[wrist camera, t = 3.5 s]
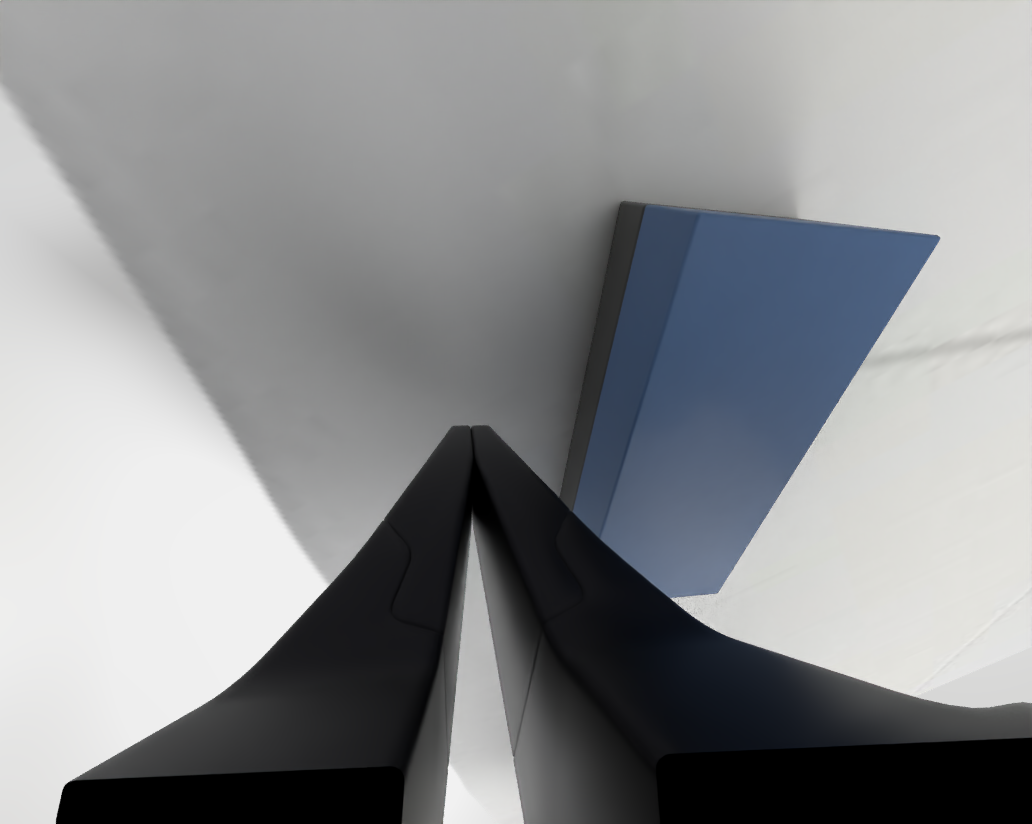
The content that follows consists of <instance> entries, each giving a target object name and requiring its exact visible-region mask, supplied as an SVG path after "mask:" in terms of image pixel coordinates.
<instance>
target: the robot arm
mask: <svg viewBox="0 0 1032 824" xmlns="http://www.w3.org/2000/svg"><path fill="white" fill-rule="evenodd" d="M472 520H473V528H474V534H475V540H476V546H477V551H478V557H479V563H480V569H481V574H482V580H483V586H484V592H485V598H486V603H487V609H488V615H489V621H490V627H491V632H492V638H493V644H494V650H495V655H496V661H497V667H498V673H499V679H500V684H501V690H502V696H503V702H504V707H505V713H506V719H507V725H508V731H509V736H510V742H511V748H512V754H513V756H514V766H515V772H516V777H517V783H518V789H519V795H520V800H521V806H522V812H523V818H524V824H1032V703H1024V702H1021V703H1012V704H1006V705H1002V706H995V707H990V708H968V707H960V706H953V705H947V704H942V703H937V702H933V701H929V700H924V699H919V698H916V697H913V696H910V695H906V694H903V693H899V692H896V691H893V690H890V689H886V688H883V687H880V686H877V685H874V684H871V683H868V682H865V681H862V680H859V679H856V678H853V677H849V676H846V675H843V674H840V673H837V672H834V671H831V670H828V669H825V668H822V667H819V666H816V665H812V664H809V663H806V662H803V661H800V660H797V659H794V658H791V657H788V656H785V655H782V654H779V653H776V652H772V651H769V650H766V649H763V648H760V647H757V646H754V645H751V644H748V643H745V642H742V641H739V640H736V639H733V638H730V637H728V636H725V635H723V634H721V633H719V632H717V631H715V630H713V629H711V628H710V627H708V626H706V625H704V624H703V623H701V622H700V621H698V620H697V619H695V618H694V617H692V616H691V615H690V614H688V613H687V612H686V611H685V610H683V609H682V608H681V607H680V606H678V605H677V604H676V603H675V602H674V601H672V600H671V599H670V598H669V597H668V596H666V595H665V594H664V593H663V592H662V591H660V590H659V589H658V588H657V587H656V586H654V585H653V584H652V583H651V582H650V581H649V580H647V579H646V578H645V577H644V576H643V575H641V574H640V573H639V572H638V571H637V570H635V569H634V568H633V567H632V566H631V565H629V564H628V563H627V562H626V561H625V560H623V559H622V558H621V557H620V556H619V555H618V554H617V553H615V552H614V551H613V550H612V549H611V548H610V547H609V546H607V545H606V544H605V543H604V542H603V541H602V540H601V539H600V538H599V537H598V536H597V535H595V534H594V533H593V532H592V531H591V530H590V529H589V528H588V527H587V526H586V525H585V524H584V523H583V522H582V521H581V520H580V519H579V518H578V517H577V516H576V515H575V514H574V513H573V512H572V511H570V509H569V508H568V507H567V506H566V505H565V504H564V502H563V501H562V500H561V499H560V498H559V497H558V496H557V495H556V494H555V493H554V492H553V491H552V490H551V489H550V488H549V487H548V486H547V485H546V484H545V483H544V482H543V481H542V480H541V479H540V478H539V477H538V476H537V475H536V474H535V473H534V472H533V470H532V469H531V468H530V467H529V466H528V465H527V464H526V463H525V462H524V461H523V460H522V459H521V458H520V457H519V456H518V455H517V454H516V453H515V452H514V451H513V450H512V449H511V448H510V447H509V446H508V445H507V444H506V443H505V442H504V441H503V440H502V439H501V437H500V436H499V435H498V434H497V433H496V432H495V431H494V430H493V429H492V428H491V427H490V426H487V425H479V426H472V427H471V428H470V427H469V426H452V427H451V428H450V430H449V431H448V433H447V434H446V435H445V437H444V438H443V439H442V441H441V442H440V443H439V445H438V446H437V448H436V449H435V450H434V452H433V453H432V454H431V456H430V457H429V458H428V460H427V461H426V463H425V464H424V465H423V467H422V468H421V469H420V471H419V472H418V473H417V475H416V476H415V478H414V479H413V480H412V482H411V483H410V484H409V486H408V487H407V488H406V490H405V491H404V493H403V494H402V495H401V497H400V498H399V499H398V501H397V502H396V503H395V505H394V506H393V507H392V509H391V510H390V512H389V513H388V514H387V516H386V517H385V519H384V521H382V522H381V523H380V525H379V526H378V528H377V529H376V530H375V532H374V533H373V535H372V536H371V537H370V538H369V540H368V541H367V542H366V544H365V545H364V546H363V547H362V549H361V550H360V551H359V552H358V554H357V555H356V556H355V557H354V559H353V560H352V561H351V562H350V563H349V564H348V565H347V566H346V568H345V569H344V570H343V571H342V572H341V573H340V574H339V575H338V577H337V578H336V579H335V580H334V581H333V582H332V583H331V584H330V585H329V587H328V588H327V589H326V590H325V591H324V592H323V593H322V594H321V595H320V596H319V597H318V598H317V599H316V601H315V602H314V603H313V604H312V605H311V606H310V607H309V608H308V609H307V610H306V611H305V612H304V613H303V615H302V616H301V617H300V618H299V619H298V620H297V621H296V622H295V623H294V624H293V625H292V627H290V628H289V630H288V631H287V632H286V633H285V634H284V635H283V636H282V637H281V638H280V639H279V640H278V641H277V643H276V644H275V645H274V646H273V647H272V648H271V649H270V650H269V651H268V652H267V653H266V654H265V655H264V656H263V657H262V658H261V659H260V660H259V661H258V662H257V663H256V664H255V665H254V666H253V667H252V668H251V669H250V670H249V671H248V672H247V673H246V674H244V675H243V676H242V677H241V678H240V679H239V680H237V681H236V682H235V683H234V684H232V685H231V686H230V687H229V688H227V689H226V690H225V691H223V692H222V693H221V694H219V695H218V696H216V697H215V698H214V699H212V700H210V701H209V702H207V703H206V704H204V705H202V706H201V707H199V708H197V709H196V710H194V711H192V712H190V713H188V714H187V715H185V716H183V717H181V718H180V719H178V720H176V721H174V722H173V723H171V724H169V725H168V726H166V727H164V728H162V729H161V730H159V731H157V732H155V733H153V734H152V735H150V736H148V737H147V738H145V739H143V740H141V741H140V742H138V743H136V744H134V745H133V746H131V747H129V748H128V749H126V750H124V751H122V752H121V753H119V754H117V755H115V756H113V757H112V758H110V759H108V760H106V761H105V762H103V763H101V764H99V765H98V766H96V767H94V768H92V769H91V770H89V771H87V772H85V773H84V774H82V775H80V776H79V777H77V778H75V779H73V780H72V781H70V782H68V783H67V784H66V785H65V786H64V788H63V791H62V795H61V799H60V804H59V809H58V813H57V818H56V824H443V816H444V806H445V796H446V785H447V775H448V764H449V754H450V743H451V733H452V723H453V712H454V702H455V692H456V681H457V671H458V660H459V650H460V640H461V629H462V619H463V609H464V598H465V588H466V577H467V567H468V557H469V546H470V536H471V523H472Z"/></svg>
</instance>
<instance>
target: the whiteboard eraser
mask: <svg viewBox="0 0 1032 824" xmlns="http://www.w3.org/2000/svg"><path fill="white" fill-rule="evenodd" d="M939 240H940V237H939V236H937V235H930V234H921V233H913V232H905V231H896V230H888V229H879V228H871V227H863V226H854V225H846V224H838V223H829V222H821V221H812V220H804V219H795V218H785V217H775V216H765V215H755V214H746V213H736V212H726V211H716V210H706V209H696V208H687V207H677V206H667V205H657V204H647V203H637V202H628V201H623V202H621V204H620V209H619V214H618V219H617V224H616V228H615V233H614V238H613V243H612V248H611V253H610V257H609V262H608V267H607V272H606V277H605V282H604V287H603V291H602V296H601V301H600V306H599V311H598V316H597V320H596V325H595V330H594V335H593V340H592V345H591V349H590V354H589V359H588V364H587V369H586V374H585V378H584V383H583V388H582V393H581V398H580V403H579V407H578V412H577V417H576V422H575V427H574V432H573V436H572V441H571V446H570V451H569V456H568V461H567V465H566V470H565V475H564V480H563V485H562V490H561V494H560V499H561V500H562V501H563V502H564V504H565V505H566V506H567V507H568V508H569V509H570V511H572V512H573V513H574V514H575V515H576V516H577V517H578V518H579V519H580V520H581V521H582V522H583V523H584V524H585V525H586V526H587V527H588V528H589V529H590V530H591V531H592V532H593V533H594V534H595V535H597V536H598V537H599V538H600V539H601V540H602V541H603V542H604V543H605V544H606V545H607V546H609V547H610V548H611V549H612V550H613V551H614V552H615V553H617V554H618V555H619V556H620V557H621V558H622V559H623V560H625V561H626V562H627V563H628V564H629V565H631V566H632V567H633V568H634V569H635V570H637V571H638V572H639V573H640V574H641V575H643V576H644V577H645V578H646V579H647V580H649V581H650V582H651V583H652V584H653V585H654V586H656V587H657V588H658V589H659V590H660V591H662V592H663V593H664V594H665V595H666V596H668V597H669V598H674V597H685V596H695V595H705V594H716V593H718V592H719V590H720V589H721V587H722V585H723V584H724V582H725V581H726V579H727V577H728V576H729V574H730V573H731V571H732V570H733V568H734V566H735V565H736V563H737V562H738V560H739V558H740V557H741V555H742V554H743V552H744V550H745V549H746V547H747V546H748V544H749V543H750V541H751V539H752V538H753V536H754V535H755V533H756V531H757V530H758V528H759V527H760V525H761V523H762V522H763V520H764V519H765V517H766V515H767V514H768V512H769V511H770V509H771V508H772V506H773V504H774V503H775V501H776V500H777V498H778V496H779V495H780V493H781V492H782V490H783V488H784V487H785V485H786V484H787V482H788V481H789V479H790V477H791V476H792V474H793V473H794V471H795V469H796V468H797V466H798V465H799V463H800V461H801V460H802V458H803V457H804V455H805V453H806V452H807V450H808V449H809V447H810V446H811V444H812V442H813V441H814V439H815V438H816V436H817V434H818V433H819V431H820V430H821V428H822V426H823V425H824V423H825V422H826V420H827V419H828V417H829V415H830V414H831V412H832V411H833V409H834V407H835V406H836V404H837V403H838V401H839V399H840V398H841V396H842V395H843V393H844V391H845V390H846V388H847V387H848V385H849V384H850V382H851V380H852V379H853V377H854V376H855V374H856V372H857V371H858V369H859V368H860V366H861V364H862V363H863V361H864V360H865V358H866V357H867V355H868V353H869V352H870V350H871V349H872V347H873V345H874V344H875V342H876V341H877V339H878V337H879V336H880V334H881V333H882V331H883V329H884V328H885V326H886V325H887V323H888V322H889V320H890V318H891V317H892V315H893V314H894V312H895V310H896V309H897V307H898V306H899V304H900V302H901V301H902V299H903V298H904V296H905V295H906V293H907V291H908V290H909V288H910V287H911V285H912V283H913V282H914V280H915V279H916V277H917V275H918V274H919V272H920V271H921V269H922V267H923V266H924V264H925V263H926V261H927V260H928V258H929V256H930V255H931V253H932V252H933V250H934V248H935V247H936V245H937V244H938V242H939Z"/></svg>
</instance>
